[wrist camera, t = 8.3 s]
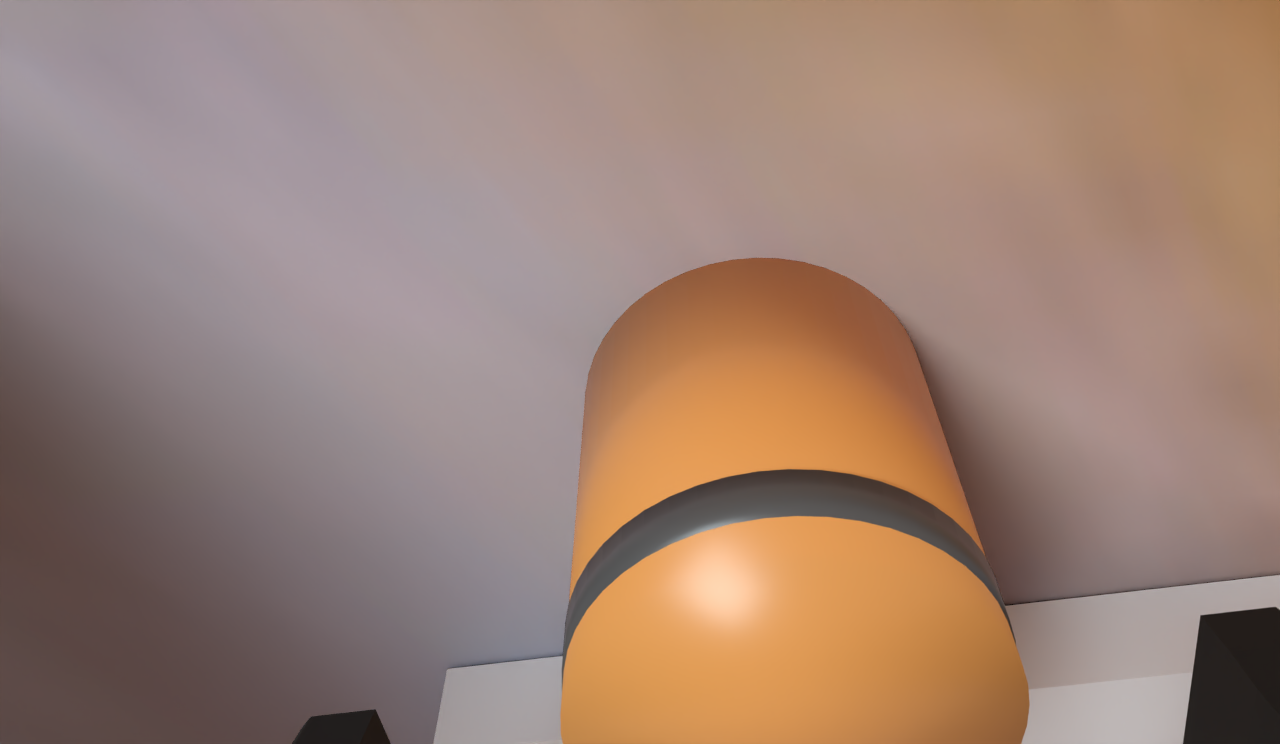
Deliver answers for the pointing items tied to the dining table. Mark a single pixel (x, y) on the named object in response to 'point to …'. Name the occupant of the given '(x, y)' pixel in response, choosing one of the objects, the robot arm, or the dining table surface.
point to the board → (1046, 642)
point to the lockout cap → (776, 530)
